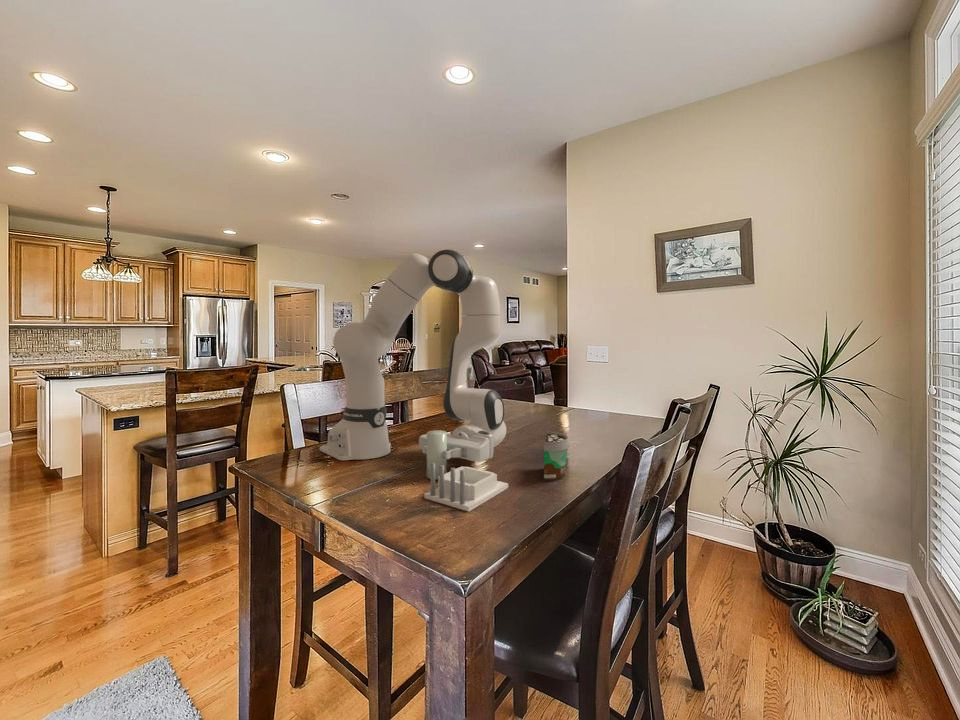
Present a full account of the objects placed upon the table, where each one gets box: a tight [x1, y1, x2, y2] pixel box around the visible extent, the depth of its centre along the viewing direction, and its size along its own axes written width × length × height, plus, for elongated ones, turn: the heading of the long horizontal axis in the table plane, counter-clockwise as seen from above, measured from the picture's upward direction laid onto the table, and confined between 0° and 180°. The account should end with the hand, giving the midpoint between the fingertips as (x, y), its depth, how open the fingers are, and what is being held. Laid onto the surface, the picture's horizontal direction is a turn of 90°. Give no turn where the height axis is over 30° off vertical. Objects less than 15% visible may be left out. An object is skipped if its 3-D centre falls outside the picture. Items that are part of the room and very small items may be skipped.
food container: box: [543, 430, 571, 482], centre depth 106 cm, size 12×6×10 cm, turn 168°
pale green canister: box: [426, 429, 448, 480], centre depth 104 cm, size 5×5×11 cm
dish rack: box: [423, 463, 509, 512], centre depth 94 cm, size 12×16×8 cm
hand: (434, 453), depth 103 cm, fingers closed on pale green canister, 5 cm apart
